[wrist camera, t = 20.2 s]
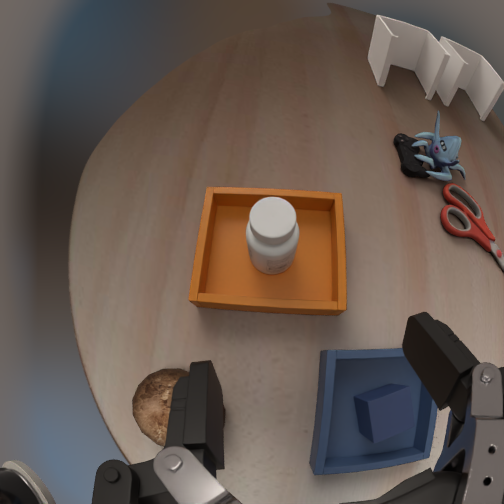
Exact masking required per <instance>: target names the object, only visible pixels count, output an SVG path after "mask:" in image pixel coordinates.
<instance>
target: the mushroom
mask: <svg viewBox="0 0 504 504" xmlns="http://www.w3.org/2000/svg"><path fill="white" fill-rule="evenodd" d="M184 376H189V372H187V371H184V370H182V369H162V370H159V371H157V372H155V373H152V374H150V375H148V376H147V377H146V378H145V379H144V380H143V381H142V382H141V383H140V384H139V385H138V387H137V390H136V392H135V394H134V397H133V400H132V404H133V416H134V418H135V420H136V422H137V424H138V426H139V428H140V429H141V431H142V433H144V434H145V435H146V436H147V437H149V438H150V439H151V440H153V441H154V442H155V443H156V444H158V445H161V446H165V442H166V434H167V426H168V419H169V412H170V410H171V409H170V405H171V401H172V392H173V387H174V385H175V384H176V382H177V381H178V379H179V378H180V377H184ZM224 423H225V407H224V405H223V428H224Z"/></svg>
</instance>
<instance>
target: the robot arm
mask: <svg viewBox="0 0 504 504" xmlns="http://www.w3.org/2000/svg"><path fill="white" fill-rule="evenodd" d="M402 348H403V353H404V355H405V357H406V359H407V360H408V362H409V363H410V365H411V366H412V368H413V369H414V371H415V372H416V374H417V375H418V377H419V378H420V380H421V381H422V383H423V385H424V386H425V388H426V389H427V391H428V392H429V394H430V396H431V397H432V399H433V400H434V402H435V404H436V405H437V407H438V409H439V410H440V411H441V410H442V409H444V408H446V407H448V406H449V407H450V409H451V410H450V412H449V417H448V424H447V430H446V435H445V440H444V445H443V450H442V453H441V455H440V457H439V459H438V461H437V463H436V465H435V468H434V471H433V472H432V470H431V468H429V469H427V470H425V471H423V472H421V473H419V474H417V475H415V476H413V477H411V478H408V479H406V480H404V481H403V482H401V483H400V484H399V485H397V486H396V487H394V488H393V489H391V490H390V491H389V492H387V493H386V494H384V495H383V496H381V497H379V498H377V499H374V500H367V501H358V502H348V503H340V504H504V367H501V368H497V367H496V366H495V365H493V364H491V363H487V362H484V363H480V362H479V361H478V360H477V359H476V357H475V356H474V355H473V354H472V353H471V352H470V350H469V349H468V348H467V347H466V346H465V345H464V344H463V342H462V341H461V340H459V338H458V337H457V336H456V335H455V334H454V332H453V331H452V330H451V329H450V328H449V327H448V326H447V325H446V324H444V323H442V322H440V321H439V320H434V319H433V318H432V317H431V316H430V315H429V314H428V313H427V312H422V313H419V314H416V315H413V316H410V317H409V318H408V321H407V326H406V330H405V335H404V339H403V344H402ZM170 409H171V410H170V412H169V419H168V426H167V434H166V442H165V446H164V448H163V450H162V451H160V452H159V453H158V454H157V455H156V457H155V458H154V459H152V460H149V461H146V462H141V463H137V464H132V465H126V464H125V463H124V462H122V461H119V460H109V461H106V462H104V463H103V464H101V465H100V466H99V468H98V470H97V472H96V477H95V484H94V491H93V498H92V504H242V503H241V502H240V501H239V500H237V499H236V498H235V497H234V496H233V495H232V494H231V493H230V492H228V491H227V490H226V489H225V488H224V487H223V486H222V485H221V484H220V483H219V482H218V481H217V480H216V470H220V469H224V436H223V395H222V389H221V385H220V382H219V380H218V377H217V374H216V372H215V369H214V366H213V364H212V362H211V360H208V361H199V362H192V363H191V364H190V371H189V376H184V377H180V378H179V379H178V381H177V382H176V384H175V385H174V387H173V392H172V401H171V405H170ZM0 504H43V502H42V500H41V498H40V496H39V495H38V493H37V492H36V490H35V489H34V487H33V486H32V485H31V483H30V482H29V481H28V480H27V479H26V478H25V477H24V476H23V475H22V474H21V473H20V472H18V471H17V470H15V469H7V468H6V467H4V468H0Z"/></svg>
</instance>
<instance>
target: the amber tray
mask: <svg viewBox="0 0 504 504" xmlns="http://www.w3.org/2000/svg"><path fill="white" fill-rule="evenodd" d="M267 197H279V198H282V199H284V200H286V201H287V202H289V203H290V204H291V205H292V207H293V208H294V210H295V212H296V222H297V224H298V227H299V240H298V244H297V249H296V253H295V257H294V260H293V263H292V264H291V266H290V267H289V268H288V269H287V270H286V271H284V272H282V273H279V274H274V275H270V274H265V273H262V272H260V271H259V270H257V269H256V268H255V267H254V265H253V264H252V262H251V260H250V256H249V251H248V246H247V241H246V227H247V224H248V222H249V216H250V211H251V209H252V207H253V206H254V205H255V203H257V202H258V201H259V200H261V199H263V198H267ZM189 301H190V302H191V303H193V304H194V305H196V306H197V307H204V308H215V309H226V310H239V311H252V312H267V313H284V314H305V315H337V316H338V315H339V314H341V313H343V312H344V311H346V310H347V286H346V250H345V231H344V216H343V203H342V194H341V193H330V192H317V191H303V190H287V189H266V188H238V187H207V190H206V195H205V201H204V206H203V211H202V217H201V223H200V228H199V234H198V240H197V246H196V252H195V259H194V265H193V272H192V278H191V285H190V292H189Z"/></svg>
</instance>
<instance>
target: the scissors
mask: <svg viewBox="0 0 504 504" xmlns="http://www.w3.org/2000/svg"><path fill="white" fill-rule="evenodd" d="M450 190H452V191H454V192H456V193H458V194H459V195H460V196H462V197H463V198H464V199H465V200H466V201H467V202H468V203H469V204H470V206H471V207H472V208H473V209H474V211H475V213H476V216H475V215H474V214H473V213H472V212H471V211H470V210H469V209H468V208H467V207H466V206H465V205H464V204H463V203H462V202H461V201H459V200H458V199H456V198H455V197H454V196H452V195H451V193H450ZM443 195H444V197H445V199H446V200H447V201H448V202H449V203H451V204H452V205H447V206H445V207H444V208H443V209H442V211H441V222H442V224H443V226H444V228H445V229H446V230H447V231H448V232H449V233H451V234H453V235H455V236H459V237H470V238H473V239H474V240H475V241H477V242H478V243H479V244H480V245H481V246H482V247H483V248H484V249H485V250H486V251H487V252H490V251H491V252H492V254H493V256H494V257H495V259H496V260H497V262H498V263H499V265H500V266H501V268H502V269H503V271H504V255H503V253H502V252H501V250H500V249H499V247H498V246H497V245H496V244H495V243H494V241H495V237H494V236H493V234H492V233H491V231H490V230H489V228H488V227H487V225H486V223H485V220H484V217H483V212H482V210H481V208H480V206H479V205H478V203H477V202H476V201H475V200H474V199H473V197H472V196H471V195H470V194H469V193H467V192H466V191H465V190H464V189H463V188H461V187H460V186H458V185H456V184H454V183H449V184H447V185H445V186H444V188H443ZM453 205H454V206H453ZM448 212H450V213H453V214H455V215H456V216H458V217H459V218H460V219H461V221H462V222H463V223H464V225H465V228H466V230H462V229H458V228H456V227H454V226H453V225H452V224H451V223H450V221H449V219H448Z"/></svg>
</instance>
